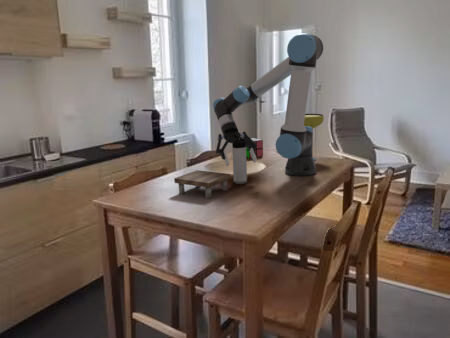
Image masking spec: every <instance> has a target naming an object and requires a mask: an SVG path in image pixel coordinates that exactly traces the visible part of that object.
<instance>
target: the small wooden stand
mask: <svg viewBox="0 0 450 338" xmlns="http://www.w3.org/2000/svg"><path fill="white" fill-rule="evenodd" d="M173 179H174V181H173V182H174V184H178V194H179V195H185V193H186V192H185V185H188V186H195V187H196V188H200V187H201V188H205V190H204V192H205V199H212V197H213V196H212V187H214V186H216V185H218V184H220V185H221V191H222V192H226V191H228V180H229V179H231V173H227V172H226V173H224V172H216V171H206V170H197V169H196V170H193V171H190V172H188V173H185V174H183V175H179V176H177V177H174V178H173Z"/></svg>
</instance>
